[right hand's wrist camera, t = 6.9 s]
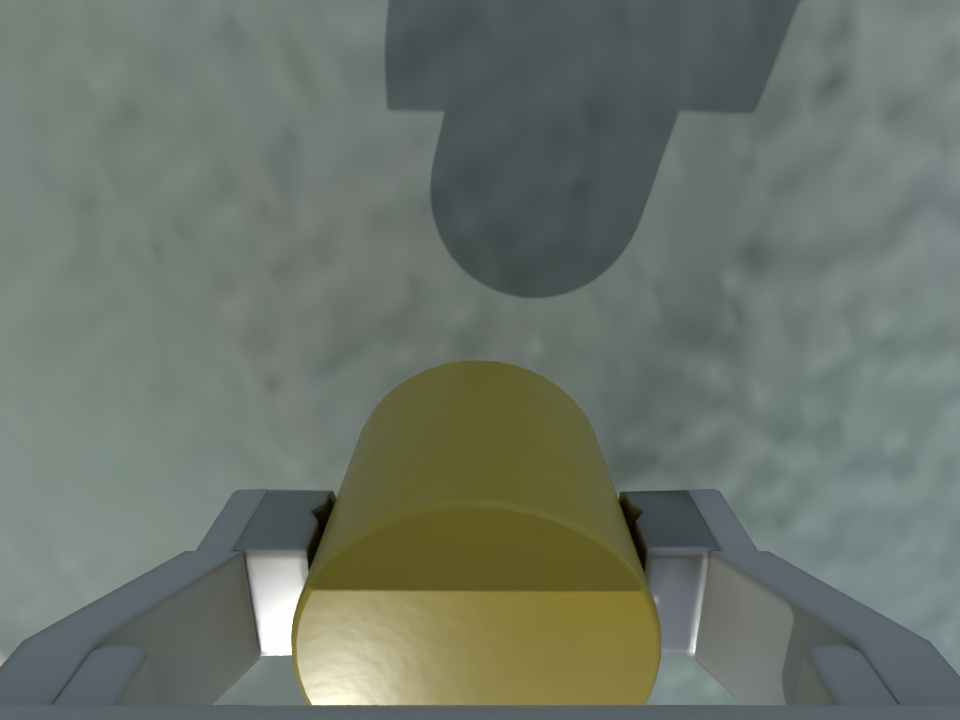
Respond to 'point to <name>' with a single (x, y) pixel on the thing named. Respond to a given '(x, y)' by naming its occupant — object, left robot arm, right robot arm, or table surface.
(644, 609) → the canister
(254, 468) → the table surface
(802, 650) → the right robot arm
